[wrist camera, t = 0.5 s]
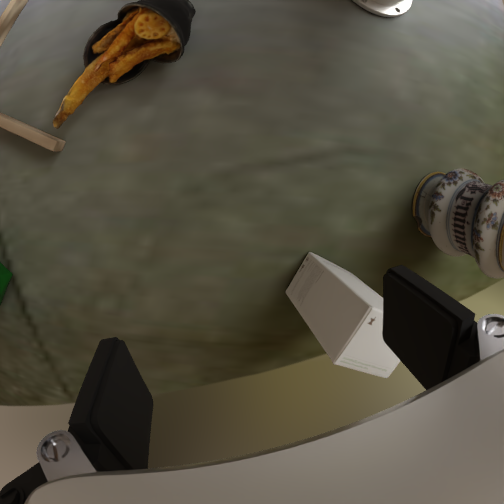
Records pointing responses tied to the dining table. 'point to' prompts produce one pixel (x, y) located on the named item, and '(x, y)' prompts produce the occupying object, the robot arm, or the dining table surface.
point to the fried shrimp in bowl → (130, 47)
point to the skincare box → (342, 316)
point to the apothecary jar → (463, 217)
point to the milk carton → (4, 280)
